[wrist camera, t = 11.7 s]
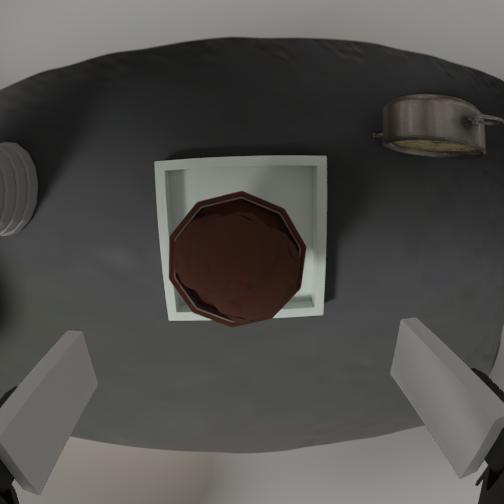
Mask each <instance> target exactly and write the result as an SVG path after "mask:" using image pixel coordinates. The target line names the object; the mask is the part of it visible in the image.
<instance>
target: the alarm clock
mask: <svg viewBox="0 0 504 504" xmlns="http://www.w3.org/2000/svg"><path fill="white" fill-rule="evenodd" d="M484 118H485V119H493V120H497V121H499V122H485V121H484ZM502 124H504V119H502V118H499V117H495V116H490V115H482V113H481V112H480V111H479V109H478V108H476V107H475V106H474V105H472V104H471V103H469V102H467V101H464V100H461V99H459V98H455V97H451V96H446V95H439V94H410V95H405V96H401V97H397V98H395V99H393V100H391V101H389V102H388V103H387V104H386V105H385V106H384V108H383V110H382V127H383V132H381V133H373V134H372V137H373V138H377V137H379V138H383V145H384V146H385V147H386V148H388V149H390V150H393V151H397V152H401V153H406V154H412V155H419V156H428V157H440V158H452V159H471V158H480V157H483V156H484V155H485V154H486V139H485V125H502Z"/></svg>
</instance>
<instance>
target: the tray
mask: <svg viewBox="0 0 504 504" xmlns="http://www.w3.org/2000/svg"><path fill="white" fill-rule="evenodd" d="M155 183H156V201H157V215H158V228H159V240H160V250H161V260H162V270H163V279H164V287H165V295H166V303H167V311H168V318H169V321H183V320H211V319H208V318H206V317H203V316H200V315H198V314H195V313H193V312H192V311H191V309H190V308H189V307H188V305H187V304H186V302H185V301H184V300H183V298H182V297H181V296H180V294H179V293H178V291H177V290H176V288H175V287H174V286H173V284H172V283H171V281H170V280H169V236H170V235H171V234H172V233H173V231H174V230H175V229H176V228H177V226H178V225H179V224H180V223H181V221H182V220H183V219H184V218H185V216H186V215H187V214H188V213H189V211H190V210H191V209H192V208H193V206H194V205H195V204H196V203H197V202H199V201H203V200H207V199H211V198H215V197H219V196H223V195H227V194H231V193H235V192H239V191H244V192H246V193H249V194H251V195H253V196H256V197H258V198H261V199H263V200H265V201H268V202H270V203H273V204H275V205H277V206H280V207H282V208H284V209H285V210H286V212H287V214H288V215H289V217H290V219H291V221H292V222H293V224H294V226H295V227H296V229H297V231H298V233H299V234H300V236H301V238H302V240H303V241H304V243H305V245H306V255H305V262H304V270H303V277H302V284H301V289H300V290H299V291H298V292H297V293H296V294H295V295H294V296H293V297H292V298H291V299H290V300H289V301H288V303H287V304H286V305H285V306H284V307H283V308H282V309H281V310H280V311H279V312H278V313H277V314H276V315H275V316H274V317H273V318H284V317H301V316H316V315H323V307H324V290H325V268H326V237H327V156H301V155H275V156H232V157H211V158H194V159H179V160H167V161H155Z"/></svg>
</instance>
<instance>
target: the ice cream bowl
mask: <svg viewBox="0 0 504 504" xmlns="http://www.w3.org/2000/svg"><path fill="white" fill-rule="evenodd" d="M305 255H306V245H305V243H304V241H303V240H302V238H301V236H300V234H299V233H298V231H297V229H296V227H295V226H294V224H293V222H292V221H291V219H290V217H289V215H288V214H287V212H286V210H285V209H284V208H282V207H280V206H277V205H275V204H273V203H270V202H268V201H265V200H263V199H261V198H258V197H256V196H253V195H251V194H249V193H246V192H244V191H239V192H235V193H231V194H227V195H223V196H219V197H215V198H211V199H207V200H203V201H199V202H197V203H196V204H195V205H194V206H193V208H192V209H191V210H190V211H189V213H188V214H187V215H186V216H185V218H184V219H183V220H182V221H181V223H180V224H179V225H178V226H177V228H176V229H175V230H174V231H173V233H172V234H171V235H170V236H169V280H170V281H171V283H172V284H173V286H174V287H175V288H176V290H177V291H178V293H179V294H180V296H181V297H182V298H183V300H184V301H185V302H186V304H187V305H188V307H189V308H190V309H191V311H192V312H193V313H195V314H198V315H200V316H203V317H206V318H208V319H211V320H214V321H216V322H219V323H222V324H224V325H227V326H230V327H235V326H240V325H244V324H249V323H254V322H258V321H262V320H267V319H271V318H273V317H274V316H275V315H276V314H277V313H278V312H279V311H280V310H281V309H282V308H283V307H284V306H285V305H286V304H287V303H288V301H289V300H290V299H291V298H292V297H293V296H294V295H295V294H296V293H297V292H298V291H299V290H300V289H301V284H302V277H303V270H304V262H305Z"/></svg>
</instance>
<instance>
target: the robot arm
mask: <svg viewBox="0 0 504 504" xmlns="http://www.w3.org/2000/svg"><path fill="white" fill-rule="evenodd" d="M390 374H391V375H392V377H393V378H394V379H395V381H396V382H397V384H398V385H399V387H400V388H401V390H402V391H403V393H404V394H405V396H406V397H407V399H408V400H409V401H410V403H411V404H412V406H413V407H414V409H415V410H416V412H417V413H418V415H419V416H420V418H421V419H422V421H423V422H424V424H425V426H426V427H427V429H428V430H429V431H430V433H431V434H432V436H433V438H434V439H435V441H436V442H437V444H438V445H439V447H440V449H441V450H442V452H443V453H444V455H445V456H446V458H447V459H448V461H449V463H450V464H451V466H452V467H453V469H454V471H455V472H456V474H457V476H458V477H459V479H461V478H463V477H465V476H468V475H470V474H472V473H474V472H475V471H477V470H478V468H479V467H480V465H481V464H482V462H483V461H484V459H485V461H486V462H487V464H488V466H487V468H486V469H485V471H484V472H483V474H482V475H481V476H480V478H479V479H478V480H477V483H476V486H478V485H479V484H480V482H481V481H482V480H483V484H482V488H481V493H480V498H479V502H478V504H504V392H503V391H502V390H501V389H500V390H499V387H498V386H497V385H496V384H495V383H493V382H492V380H491V379H490V378H489V377H488V376H487V375H486V374H484V373H483V372H481V371H479V370H477V369H475V368H472V369H470V368H469V367H468V366H467V365H466V364H465V363H464V362H463V361H462V360H461V359H460V358H459V357H458V356H457V355H456V354H454V353H453V352H452V351H451V350H450V349H449V348H448V347H447V346H446V345H445V344H444V343H443V342H442V341H441V340H440V339H439V338H438V337H437V336H436V335H434V334H433V333H432V332H431V331H430V330H429V329H428V328H427V327H426V326H425V325H424V324H423V323H421V322H420V321H419V320H418V319H417V318H416V317H415V318H408V319H401V322H400V328H399V333H398V338H397V344H396V349H395V353H394V358H393V363H392V367H391V372H390ZM97 386H98V382H97V379H96V376H95V373H94V370H93V367H92V363H91V360H90V357H89V353H88V350H87V346H86V343H85V339H84V335H83V331H67V332H66V333H65V334H64V335H63V336H62V337H61V338H60V339H59V341H58V342H57V343H56V344H55V345H54V346H53V347H52V348H51V349H50V350H49V352H48V353H47V354H46V355H45V356H44V357H43V358H42V359H41V361H40V362H39V363H38V364H37V365H36V366H35V367H34V368H33V370H32V371H31V372H30V373H29V374H28V375H27V377H26V378H25V379H24V380H23V381H22V382H21V384H20V385H19V386H18V387H17V386H15V387H14V388H12V389H11V390H9V391H8V392H6V393H5V394H4V396H3V397H2V398H1V399H0V504H19V501H18V498H17V494H16V492H15V489H14V487H13V486H12V482H13V480H14V479H15V480H16V481H17V482H18V483H19V485H20V486H21V487H22V488H23V489H24V490H27V491H29V492H32V493H35V494H37V495H41V493H42V491H43V488H44V486H45V484H46V482H47V480H48V478H49V476H50V474H51V472H52V470H53V468H54V466H55V464H56V462H57V460H58V458H59V456H60V454H61V452H62V450H63V448H64V446H65V444H66V442H67V440H68V439H69V437H70V435H71V433H72V431H73V429H74V427H75V425H76V423H77V422H78V420H79V418H80V416H81V414H82V412H83V411H84V409H85V407H86V405H87V403H88V402H89V400H90V398H91V396H92V394H93V393H94V391H95V389H96V387H97Z"/></svg>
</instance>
